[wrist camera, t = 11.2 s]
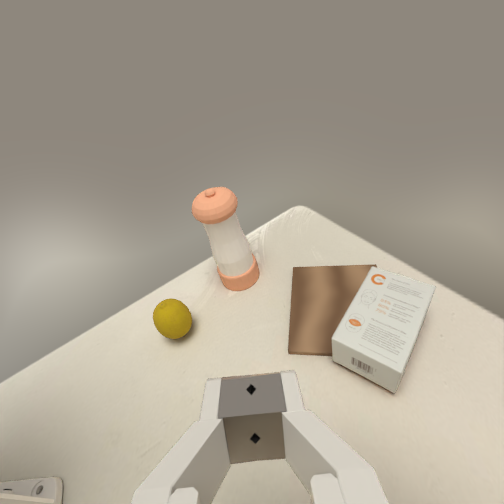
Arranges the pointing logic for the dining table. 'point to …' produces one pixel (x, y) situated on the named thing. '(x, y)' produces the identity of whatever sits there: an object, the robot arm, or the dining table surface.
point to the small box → (382, 326)
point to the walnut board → (321, 305)
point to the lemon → (172, 318)
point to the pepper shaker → (226, 237)
